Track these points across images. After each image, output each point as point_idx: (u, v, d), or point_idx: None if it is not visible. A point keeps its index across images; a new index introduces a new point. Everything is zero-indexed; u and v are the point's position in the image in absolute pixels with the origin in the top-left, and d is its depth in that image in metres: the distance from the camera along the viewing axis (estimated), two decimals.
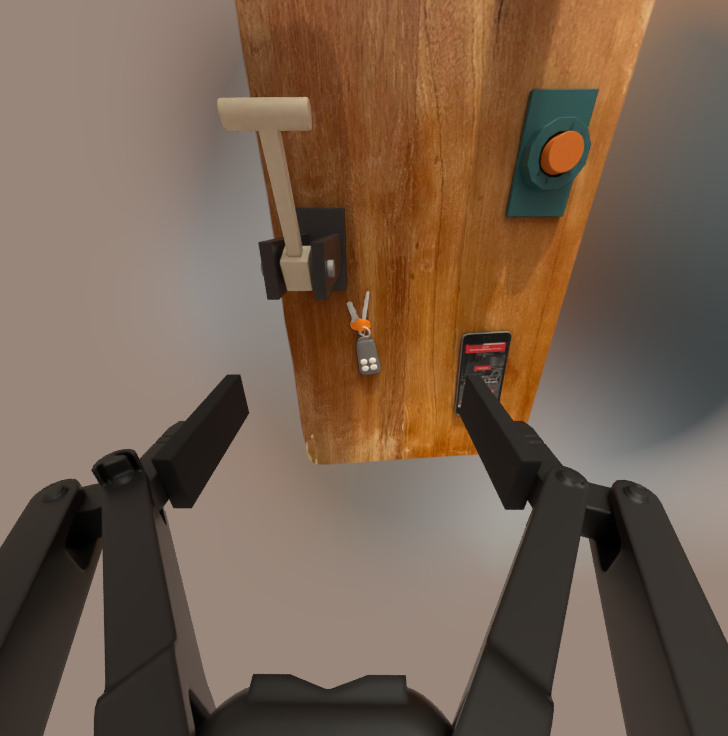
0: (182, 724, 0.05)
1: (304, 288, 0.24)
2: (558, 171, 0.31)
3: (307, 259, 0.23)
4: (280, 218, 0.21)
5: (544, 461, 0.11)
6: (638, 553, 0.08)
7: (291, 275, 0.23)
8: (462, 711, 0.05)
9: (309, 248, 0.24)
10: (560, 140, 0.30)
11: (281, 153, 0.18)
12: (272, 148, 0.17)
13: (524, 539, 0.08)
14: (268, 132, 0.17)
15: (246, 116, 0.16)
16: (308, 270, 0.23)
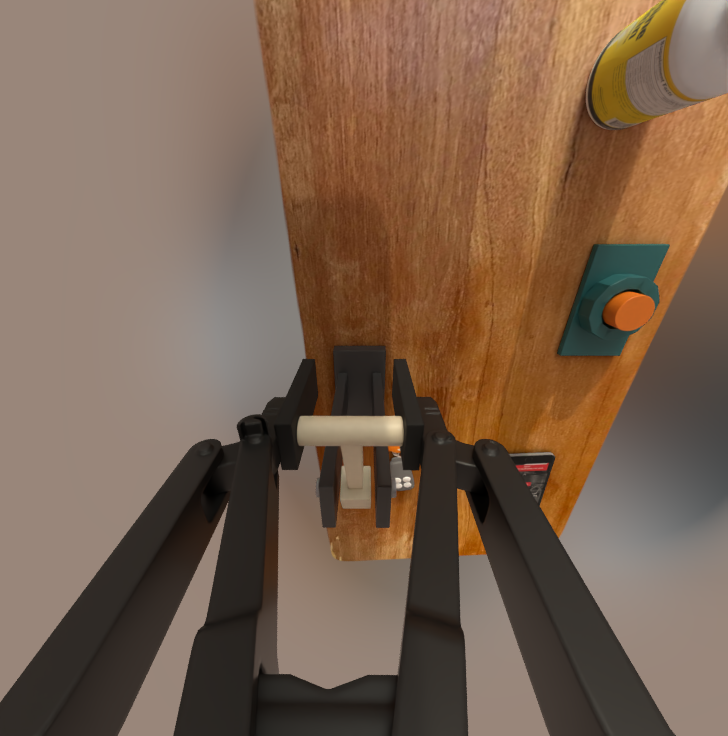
0: (247, 701, 0.05)
1: (362, 507, 0.22)
2: (624, 330, 0.29)
3: (370, 493, 0.20)
4: (347, 476, 0.18)
5: (433, 427, 0.13)
6: (501, 501, 0.09)
7: (350, 503, 0.21)
8: (397, 687, 0.05)
9: (369, 471, 0.21)
10: (629, 304, 0.27)
11: (361, 452, 0.15)
12: (352, 451, 0.15)
13: (418, 502, 0.09)
14: (351, 446, 0.14)
15: (330, 444, 0.13)
16: (370, 501, 0.21)
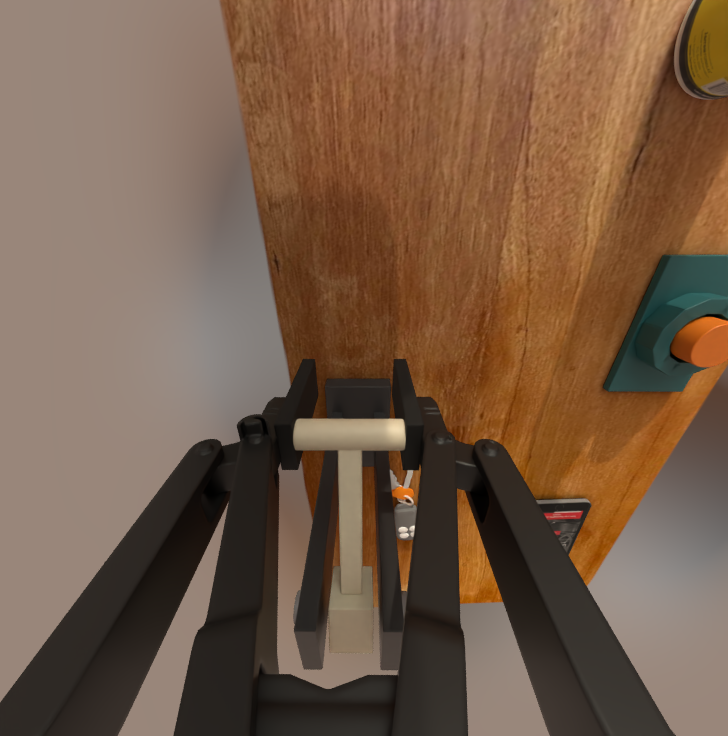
0: (247, 701, 0.05)
1: (360, 649, 0.14)
2: (701, 366, 0.22)
3: (372, 601, 0.14)
4: (342, 545, 0.14)
5: (433, 427, 0.13)
6: (501, 501, 0.09)
7: (343, 629, 0.14)
8: (397, 687, 0.05)
9: (371, 572, 0.16)
10: (712, 334, 0.21)
11: (361, 473, 0.13)
12: (350, 468, 0.13)
13: (418, 502, 0.09)
14: (350, 453, 0.13)
15: (327, 440, 0.13)
16: (372, 621, 0.14)
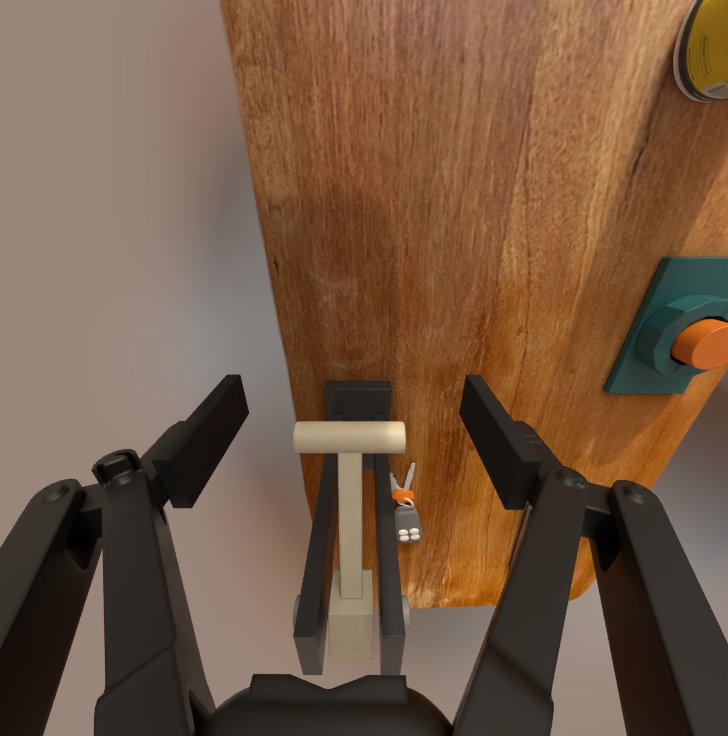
0: (182, 724, 0.05)
1: (359, 655, 0.14)
2: (702, 368, 0.22)
3: (372, 606, 0.14)
4: (341, 548, 0.14)
5: (544, 461, 0.11)
6: (638, 553, 0.08)
7: (342, 634, 0.14)
8: (462, 711, 0.05)
9: (371, 576, 0.16)
10: (713, 336, 0.21)
11: (361, 475, 0.13)
12: (350, 471, 0.13)
13: (524, 539, 0.08)
14: (350, 456, 0.13)
15: (327, 442, 0.13)
16: (372, 626, 0.14)
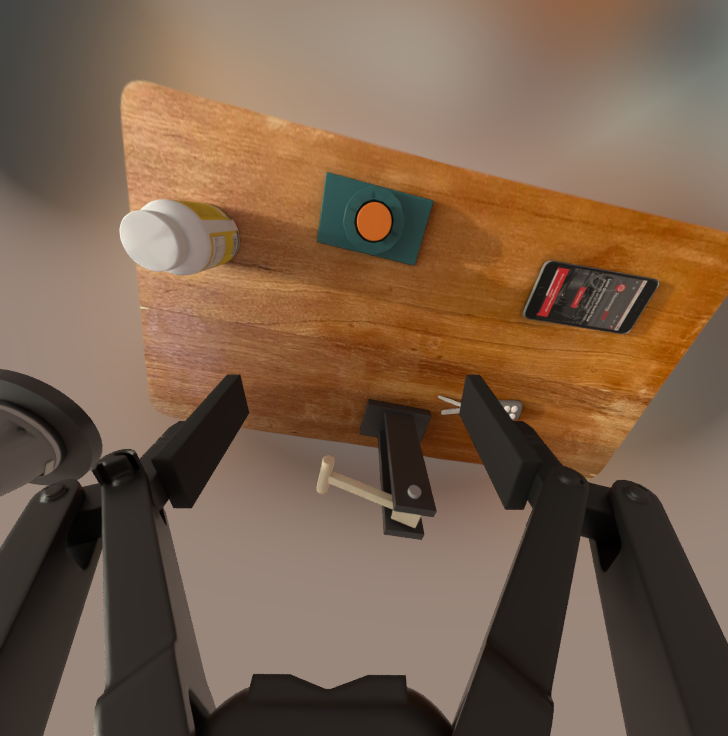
0: (182, 724, 0.05)
1: (416, 518, 0.31)
2: (389, 229, 0.30)
3: None
4: (368, 499, 0.32)
5: (544, 461, 0.11)
6: (638, 553, 0.08)
7: (403, 518, 0.31)
8: (462, 711, 0.05)
9: None
10: (363, 229, 0.30)
11: (338, 479, 0.33)
12: (335, 482, 0.33)
13: (524, 539, 0.08)
14: (329, 480, 0.33)
15: (321, 484, 0.33)
16: None
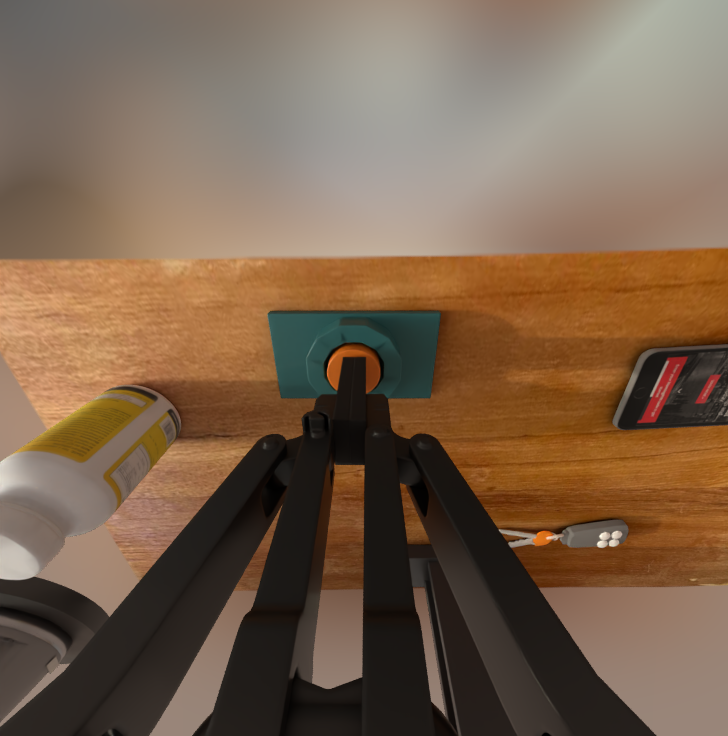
0: (280, 706, 0.05)
1: None
2: (378, 377, 0.19)
3: None
4: None
5: (378, 422, 0.13)
6: (439, 493, 0.09)
7: None
8: (363, 693, 0.05)
9: None
10: None
11: None
12: None
13: (365, 500, 0.09)
14: None
15: None
16: None
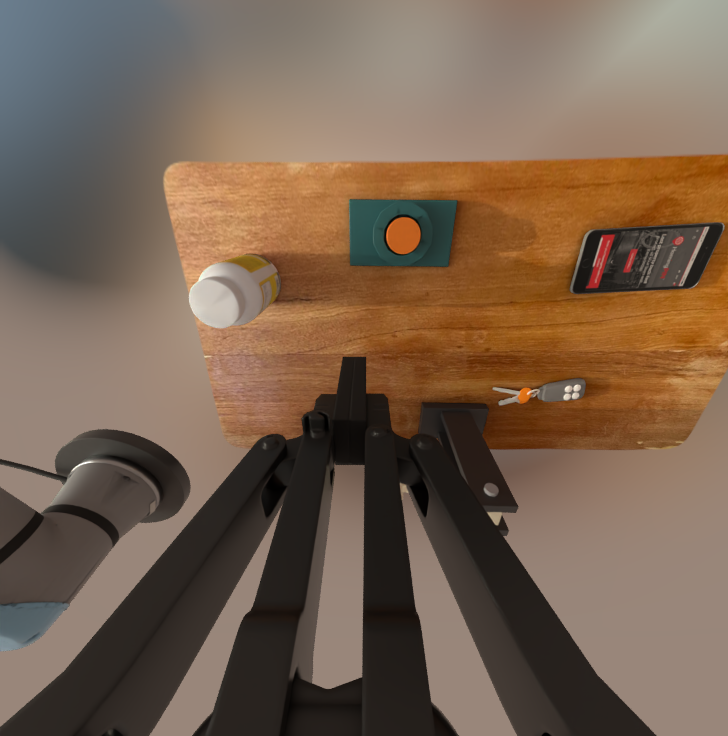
0: (280, 706, 0.05)
1: (498, 516, 0.31)
2: (419, 239, 0.31)
3: None
4: None
5: (378, 422, 0.13)
6: (439, 493, 0.09)
7: None
8: (362, 693, 0.05)
9: None
10: (394, 245, 0.31)
11: None
12: None
13: (365, 500, 0.09)
14: (403, 488, 0.34)
15: None
16: None
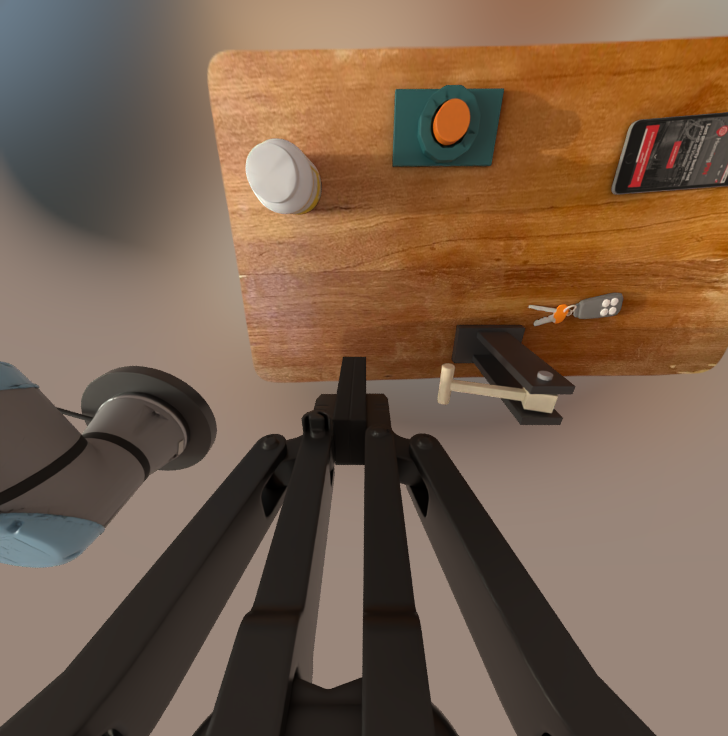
0: (280, 706, 0.05)
1: (553, 401, 0.30)
2: (468, 124, 0.30)
3: None
4: (495, 396, 0.33)
5: (378, 422, 0.13)
6: (439, 493, 0.09)
7: (537, 405, 0.31)
8: (362, 693, 0.05)
9: None
10: (443, 131, 0.31)
11: (461, 384, 0.33)
12: (458, 387, 0.34)
13: (365, 500, 0.09)
14: (451, 386, 0.34)
15: (444, 393, 0.34)
16: None
